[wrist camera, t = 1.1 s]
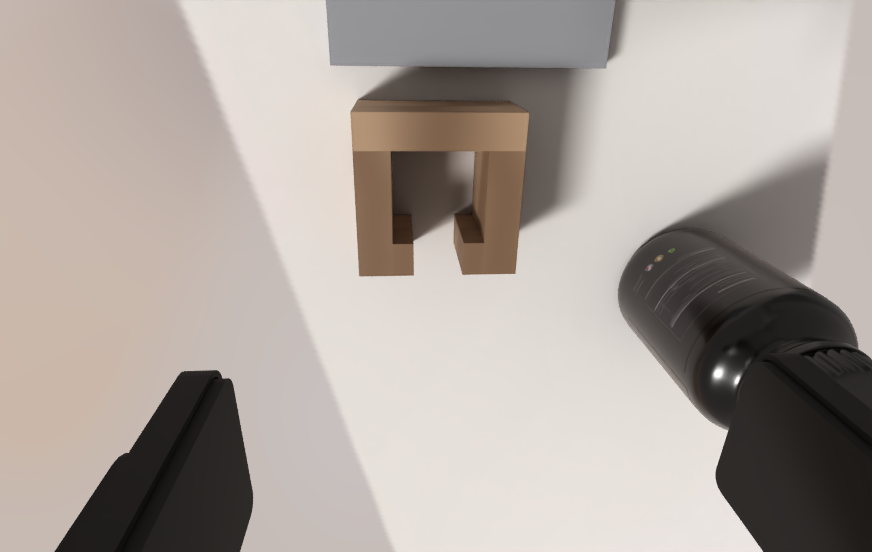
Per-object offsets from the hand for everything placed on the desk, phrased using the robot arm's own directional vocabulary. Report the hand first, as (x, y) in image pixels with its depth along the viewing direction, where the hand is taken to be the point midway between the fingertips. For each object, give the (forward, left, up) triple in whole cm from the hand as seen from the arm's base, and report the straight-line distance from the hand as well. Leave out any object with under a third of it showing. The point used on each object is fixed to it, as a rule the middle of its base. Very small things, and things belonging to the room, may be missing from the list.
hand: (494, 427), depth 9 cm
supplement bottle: (+6, +14, -18) cm, 23 cm away
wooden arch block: (0, 0, -18) cm, 18 cm away
